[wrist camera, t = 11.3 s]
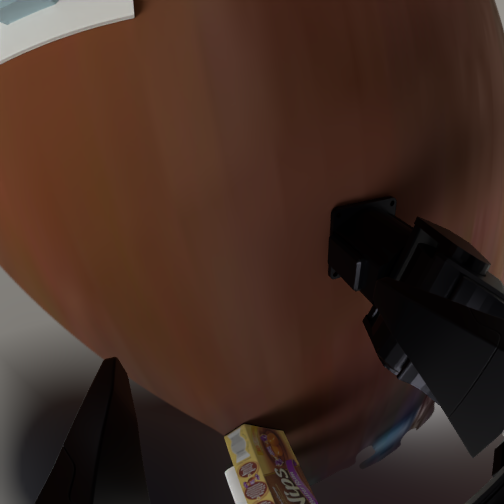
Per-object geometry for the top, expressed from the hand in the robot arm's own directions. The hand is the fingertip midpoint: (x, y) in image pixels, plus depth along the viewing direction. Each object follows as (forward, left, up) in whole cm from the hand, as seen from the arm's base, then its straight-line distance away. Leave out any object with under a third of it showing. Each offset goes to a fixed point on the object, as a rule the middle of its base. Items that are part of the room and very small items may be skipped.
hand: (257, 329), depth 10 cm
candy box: (-1, +34, -12) cm, 36 cm away
